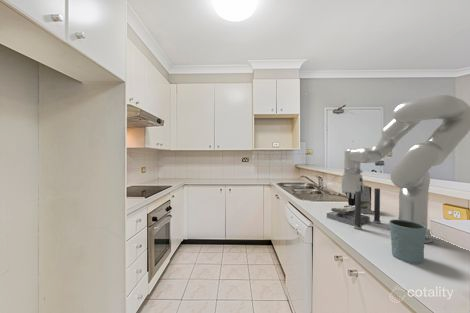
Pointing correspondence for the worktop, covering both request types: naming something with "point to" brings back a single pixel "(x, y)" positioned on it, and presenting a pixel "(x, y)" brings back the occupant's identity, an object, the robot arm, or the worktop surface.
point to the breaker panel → (346, 216)
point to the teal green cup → (407, 240)
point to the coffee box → (366, 200)
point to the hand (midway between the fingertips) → (351, 205)
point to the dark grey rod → (357, 210)
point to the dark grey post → (377, 206)
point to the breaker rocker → (347, 208)
